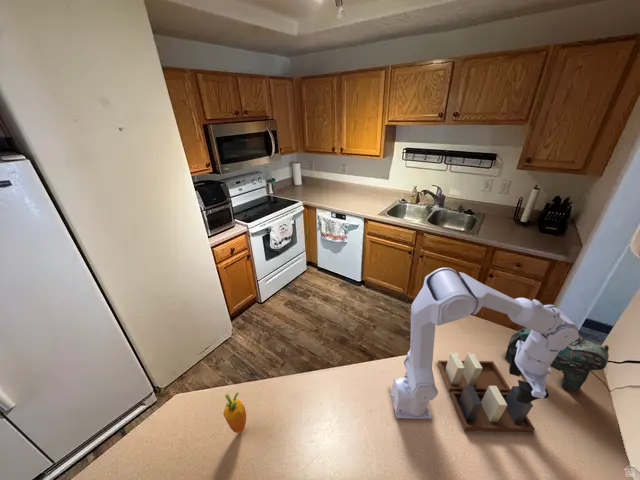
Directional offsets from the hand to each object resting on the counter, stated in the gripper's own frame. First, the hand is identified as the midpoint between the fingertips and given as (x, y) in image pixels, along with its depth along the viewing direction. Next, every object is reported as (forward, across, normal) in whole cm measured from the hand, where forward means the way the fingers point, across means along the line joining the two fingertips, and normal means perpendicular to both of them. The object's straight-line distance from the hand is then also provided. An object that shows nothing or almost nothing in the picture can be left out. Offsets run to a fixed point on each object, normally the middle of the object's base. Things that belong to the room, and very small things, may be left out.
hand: (517, 387), depth 67 cm
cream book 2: (+9, +6, +9) cm, 14 cm away
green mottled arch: (+10, +16, -12) cm, 22 cm away
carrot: (+10, -31, +66) cm, 73 cm away
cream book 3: (+9, -3, +4) cm, 11 cm away
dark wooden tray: (+10, -3, +4) cm, 11 cm away
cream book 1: (+9, +4, +14) cm, 17 cm away
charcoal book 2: (+9, -1, -1) cm, 10 cm away
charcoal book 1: (+9, -5, +10) cm, 15 cm away
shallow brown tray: (+10, +6, +8) cm, 14 cm away
